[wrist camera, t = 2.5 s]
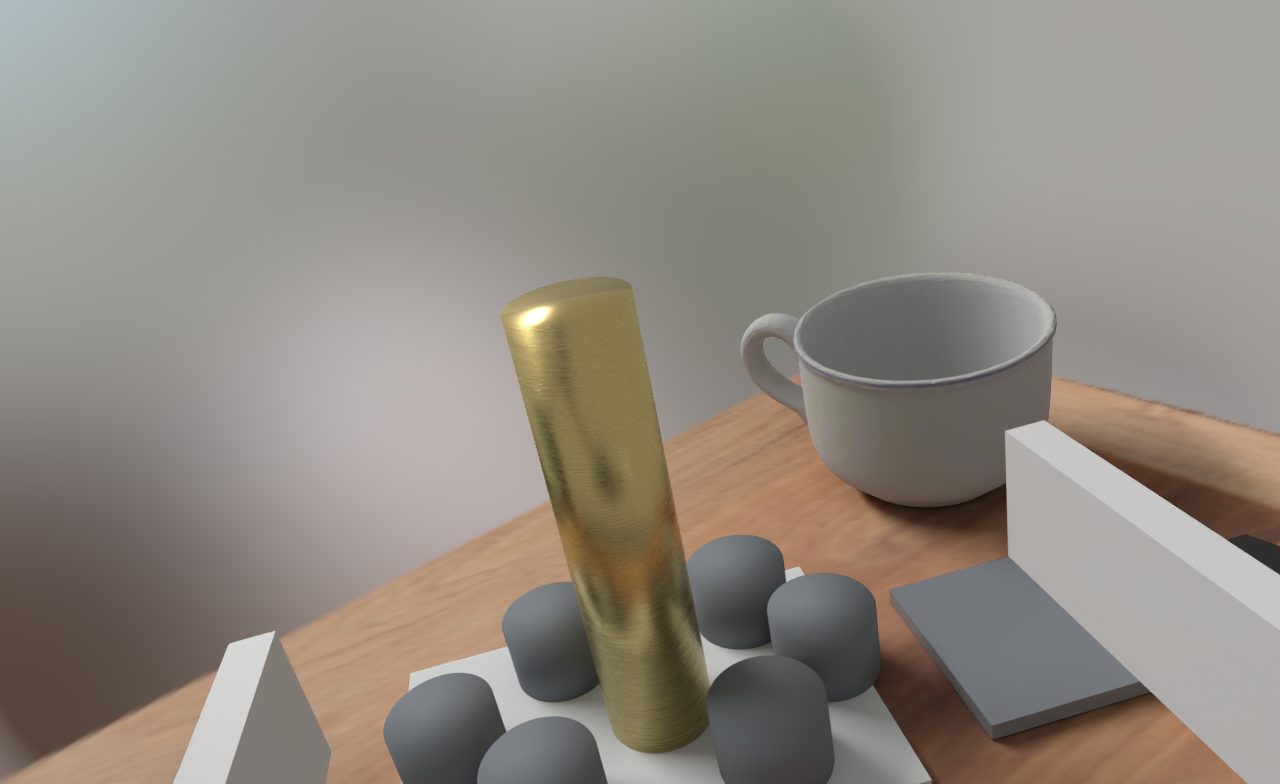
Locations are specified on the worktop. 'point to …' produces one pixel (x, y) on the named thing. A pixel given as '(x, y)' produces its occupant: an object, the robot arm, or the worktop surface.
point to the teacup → (915, 381)
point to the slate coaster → (1011, 648)
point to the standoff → (613, 504)
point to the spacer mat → (736, 702)
